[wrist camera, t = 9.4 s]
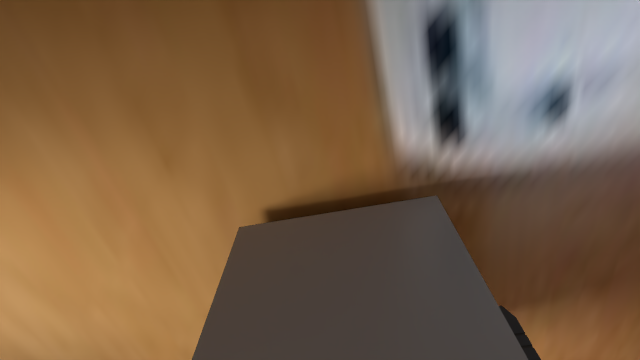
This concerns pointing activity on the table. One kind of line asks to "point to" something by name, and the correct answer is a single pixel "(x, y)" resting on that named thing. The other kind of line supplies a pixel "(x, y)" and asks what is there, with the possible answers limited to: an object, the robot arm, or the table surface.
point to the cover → (355, 291)
